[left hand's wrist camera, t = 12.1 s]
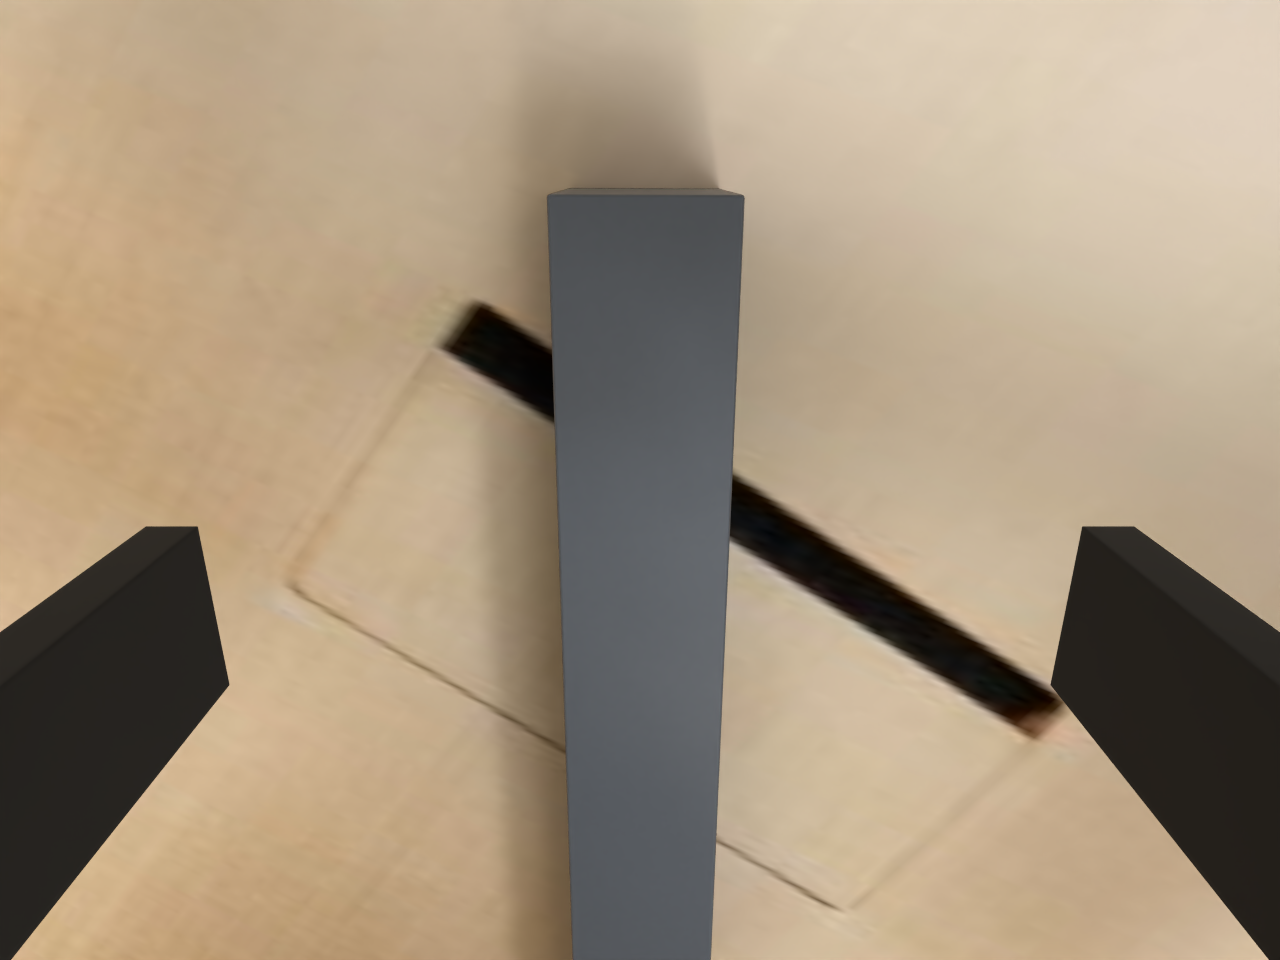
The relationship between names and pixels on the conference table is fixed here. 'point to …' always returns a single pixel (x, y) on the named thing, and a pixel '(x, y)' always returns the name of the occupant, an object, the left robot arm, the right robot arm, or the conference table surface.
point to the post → (643, 551)
